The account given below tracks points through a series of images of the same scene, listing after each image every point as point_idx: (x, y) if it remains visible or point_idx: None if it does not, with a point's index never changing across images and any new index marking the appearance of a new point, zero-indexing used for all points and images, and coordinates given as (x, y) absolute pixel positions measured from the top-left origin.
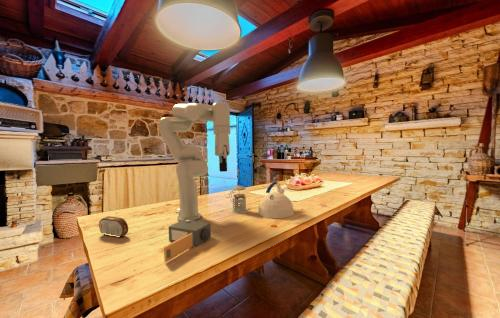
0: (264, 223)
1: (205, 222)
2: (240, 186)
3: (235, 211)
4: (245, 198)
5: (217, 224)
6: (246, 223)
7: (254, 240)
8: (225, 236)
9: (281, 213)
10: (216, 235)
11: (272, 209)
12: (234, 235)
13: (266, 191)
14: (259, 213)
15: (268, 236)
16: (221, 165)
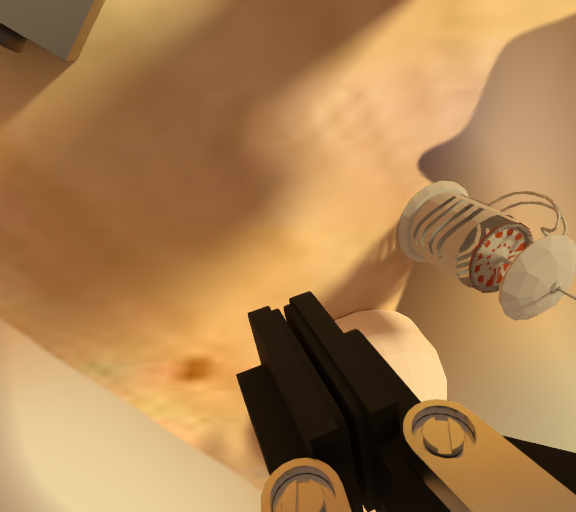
0: (233, 333)
1: (75, 21)
2: (542, 297)
3: (424, 204)
4: (467, 285)
5: (272, 100)
6: (252, 256)
7: (16, 293)
8: (77, 150)
9: None
10: (96, 96)
11: None
12: (89, 198)
13: None
14: (354, 317)
15: (66, 349)
16: (289, 411)
